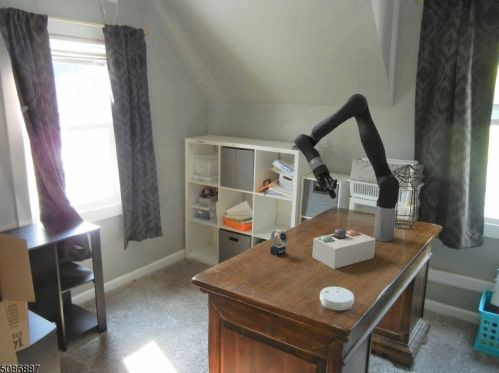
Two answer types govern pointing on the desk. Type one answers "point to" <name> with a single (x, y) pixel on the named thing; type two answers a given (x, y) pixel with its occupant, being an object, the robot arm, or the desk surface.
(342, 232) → the charcoal button
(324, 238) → the sage button
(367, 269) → the desk surface
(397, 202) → the geometric lantern
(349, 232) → the terracotta button
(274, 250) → the watch
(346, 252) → the button console
